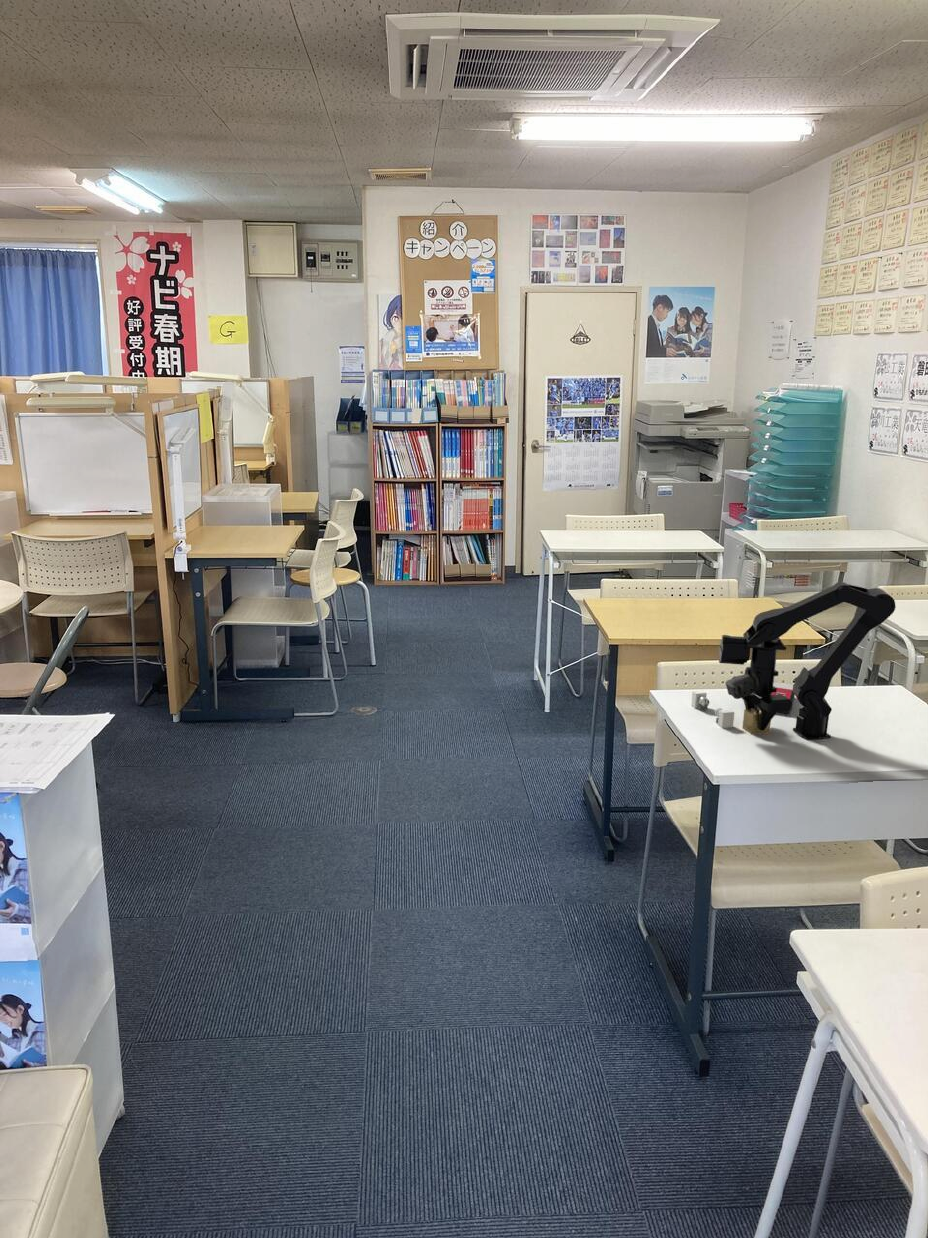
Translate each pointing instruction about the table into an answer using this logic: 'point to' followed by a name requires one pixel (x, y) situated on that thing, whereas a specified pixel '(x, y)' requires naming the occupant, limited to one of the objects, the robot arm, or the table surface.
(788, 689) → the red and grey box
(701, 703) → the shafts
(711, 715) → the table surface
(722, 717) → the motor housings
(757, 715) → the tan block
